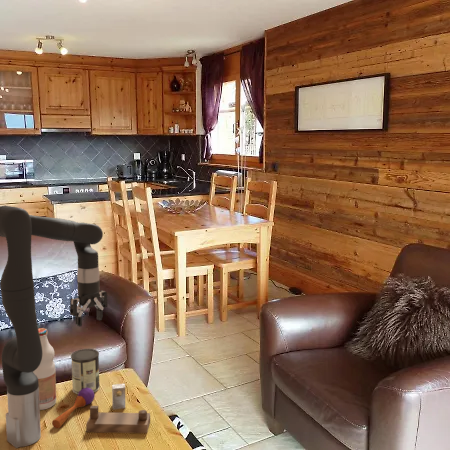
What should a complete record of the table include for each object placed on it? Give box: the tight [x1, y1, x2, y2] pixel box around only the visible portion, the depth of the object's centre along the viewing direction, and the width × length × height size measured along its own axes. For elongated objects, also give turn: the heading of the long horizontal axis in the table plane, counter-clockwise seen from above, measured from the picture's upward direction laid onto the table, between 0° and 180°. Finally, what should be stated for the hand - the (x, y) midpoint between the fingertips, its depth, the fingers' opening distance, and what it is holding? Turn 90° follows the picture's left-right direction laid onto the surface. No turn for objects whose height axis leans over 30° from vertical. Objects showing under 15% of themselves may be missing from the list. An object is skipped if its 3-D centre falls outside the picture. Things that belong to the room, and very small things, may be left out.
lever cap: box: [111, 383, 126, 410], centre depth 178 cm, size 4×3×8 cm
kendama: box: [51, 388, 96, 429], centre depth 174 cm, size 6×6×20 cm
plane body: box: [85, 405, 151, 434], centre depth 166 cm, size 20×7×7 cm, turn 91°
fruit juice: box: [33, 327, 57, 411], centre depth 177 cm, size 9×9×28 cm
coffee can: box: [70, 348, 100, 395], centre depth 190 cm, size 10×10×14 cm
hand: (89, 322), depth 178 cm, fingers open, 8 cm apart
